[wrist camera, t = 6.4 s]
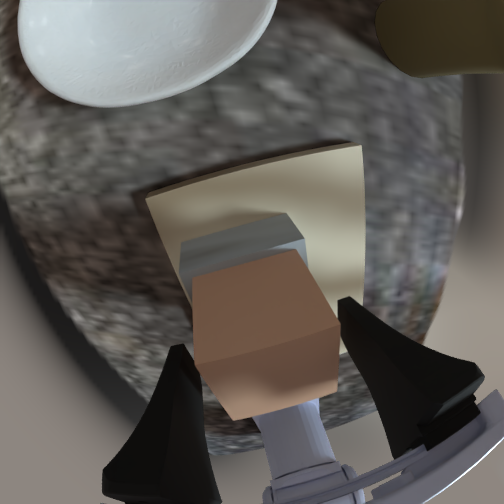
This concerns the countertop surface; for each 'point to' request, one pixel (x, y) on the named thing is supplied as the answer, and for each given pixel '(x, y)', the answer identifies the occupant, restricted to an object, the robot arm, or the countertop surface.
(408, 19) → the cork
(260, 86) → the countertop surface
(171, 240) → the baseboard
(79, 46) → the spoon rest
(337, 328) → the terracotta block
